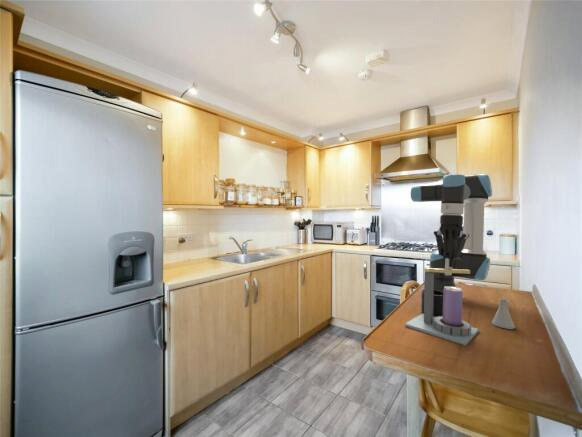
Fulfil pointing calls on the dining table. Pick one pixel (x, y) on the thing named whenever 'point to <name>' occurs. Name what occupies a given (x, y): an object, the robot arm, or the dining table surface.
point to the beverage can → (452, 306)
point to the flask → (503, 316)
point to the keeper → (446, 270)
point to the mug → (435, 303)
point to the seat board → (433, 331)
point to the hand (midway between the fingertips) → (448, 274)
